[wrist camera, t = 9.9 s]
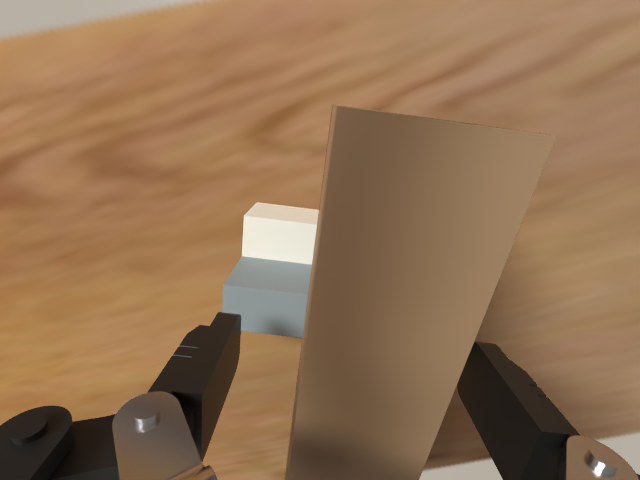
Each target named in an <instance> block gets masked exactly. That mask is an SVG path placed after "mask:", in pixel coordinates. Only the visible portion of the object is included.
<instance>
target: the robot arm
mask: <svg viewBox="0 0 640 480" xmlns="http://www.w3.org/2000/svg"><path fill="white" fill-rule="evenodd" d="M240 335H241V315H240V314H232V313H223V312H218V313H217V315H216V317H215V318H214V320H213V322H212V323H211V325H210V326H204V325H199V326H198V327H196V328H195V329H193V330H192V331H191V332H189V333H188V334H187V335H186V336H185V338H184V339H183V341H182V342H181V344H180V347H178V348H177V350H176V351H175V353H174V355H173V356H172V357H171V358H170V360H169V361H168V363H167V364H166V366H165V367H164V369H163V370H162V372H161V373H160V375H159V376H158V378H157V379H156V381H155V382H154V384H153V385H152V386H151V388H150V389H149V391H148V392H147V393H144V394H141V395H139V396H136V397H135V398H133V399H131V400H129V401H128V402H126V403H125V404H124V405H123V406H122V407H121V408H120V409H119V410H118V411H117V413H116V414H114V415H111V416H106V417H100V418H94V419H88V420H82V421H76V422H72V416H71V414H70V412H69V411H68V410H67V409H65V408H63V407H60V406H43V407H38V408H34V409H31V410H28V411H25V412H23V413H21V414H19V415H17V416H15V417H13V418H11V419H9V420H8V421H6V422H5V423H3V424H2V425H1V426H0V480H218V479H217V477H216V474H215V472H214V470H213V469H212V467H211V466H207V467H204V465H203V463H202V462H203V459H204V456H205V454H206V451H207V448H208V445H209V443H210V440H211V437H212V435H213V432H214V429H215V426H216V424H217V421H218V418H219V415H220V413H221V410H222V407H223V405H224V402H225V399H226V396H227V394H228V391H229V388H230V386H231V383H232V380H233V377H234V375H235V372H236V369H237V365H238V360H239V353H240ZM457 388H458V393H459V396H460V398H461V400H462V402H463V404H464V405H465V407H466V409H467V411H468V413H469V415H470V417H471V419H472V421H473V423H474V425H475V427H476V429H477V430H478V432H479V434H480V436H481V438H482V440H483V442H484V444H485V446H486V448H487V450H488V452H489V453H490V455H491V457H492V459H493V461H494V463H495V465H496V467H497V469H498V471H499V473H500V475H501V476H502V478H503V480H640V475H638V474H636V473H635V471H634V470H633V469H632V467H631V466H630V465H629V464H628V463H627V462H626V461H625V460H624V459H623V458H622V457H621V456H620V455H618V454H617V453H616V452H614V451H613V450H612V449H610V448H609V447H607V446H605V445H604V444H602V443H600V442H598V441H596V440H594V439H591V438H588V437H584V436H580V435H579V433H578V432H577V431H576V430H575V429H574V428H573V426H572V425H571V424H570V423H569V422H568V421H567V419H566V418H565V417H564V416H563V415H562V414H561V412H560V411H559V410H558V409H557V408H556V406H555V405H554V404H553V403H552V402H551V401H550V399H549V398H546V395H545V394H544V392H543V391H542V390H541V389H540V388H539V387H537V384H536V383H535V382H534V381H533V380H532V378H531V377H530V376H529V375H528V374H527V372H525V371H524V370H523V369H521V368H520V367H519V366H517V365H516V364H515V363H513V362H512V361H510V360H509V359H508V358H507V357H506V356H505V354H504V353H503V352H502V351H501V350H500V348H499V347H498V346H497V345H496V344H491V343H482V342H474V344H473V346H472V349H471V351H470V354H469V356H468V358H467V361H466V363H465V366H464V368H463V371H462V373H461V376H460V378H459V381H458V383H457Z"/></svg>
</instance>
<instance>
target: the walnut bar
mask: <svg viewBox="0 0 640 480" xmlns="http://www.w3.org/2000/svg"><path fill="white" fill-rule="evenodd" d="M556 137H557V136H554V135H547V134H540V133H533V132H526V131H519V130H512V129H505V128H498V127H491V126H484V125H477V124H470V123H463V122H456V121H449V120H441V119H434V118H427V117H419V116H412V115H405V114H397V113H390V112H382V111H375V110H368V109H360V108H353V107H346V106H338V105H332V113H331V120H330V128H329V136H328V144H327V151H326V159H325V167H324V175H323V182H322V190H321V198H320V206H319V213H318V221H317V229H316V237H315V244H314V252H313V260H312V268H311V275H310V283H309V291H308V299H307V306H306V314H305V322H304V330H303V337H302V345H301V353H300V361H299V368H298V376H297V384H296V392H295V399H294V407H293V415H292V423H291V430H290V438H289V446H288V454H287V463H286V472H285V480H419V478H420V476H421V473H422V471H423V468H424V466H425V463H426V461H427V458H428V456H429V453H430V451H431V448H432V446H433V443H434V441H435V438H436V436H437V433H438V431H439V428H440V426H441V423H442V421H443V418H444V416H445V413H446V411H447V408H448V406H449V403H450V401H451V398H452V396H453V393H454V391H455V388H456V386H457V383H458V381H459V378H460V376H461V373H462V371H463V368H464V366H465V363H466V361H467V358H468V356H469V354H470V351H471V349H472V346H473V344H474V341H475V339H476V336H477V334H478V331H479V329H480V326H481V324H482V321H483V319H484V316H485V314H486V311H487V309H488V306H489V304H490V301H491V299H492V296H493V294H494V291H495V289H496V286H497V284H498V281H499V279H500V276H501V274H502V271H503V269H504V266H505V264H506V261H507V259H508V256H509V254H510V251H511V249H512V246H513V244H514V241H515V239H516V236H517V234H518V231H519V229H520V226H521V224H522V221H523V219H524V216H525V214H526V211H527V209H528V206H529V204H530V201H531V199H532V196H533V194H534V191H535V189H536V186H537V184H538V182H539V179H540V177H541V174H542V172H543V169H544V167H545V164H546V162H547V159H548V157H549V154H550V152H551V149H552V147H553V144H554V142H555V139H556Z"/></svg>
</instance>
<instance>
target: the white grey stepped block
mask: <svg viewBox="0 0 640 480" xmlns="http://www.w3.org/2000/svg"><path fill="white" fill-rule="evenodd" d="M318 213H319V210H315V209H307V208H299V207H291V206H283V205H275V204H267V203H259V202H257V203H256V204H255V205H254V206H253V207H252V208H251V209H250V210H249V211H248V212H247V213H246V214H245V215H244V226H243V246H242V257H241V258H240V260H239V262H238V263H237V265H236V266H235V268H234V269H233V271H232V272H231V274H230V275H229V277H228V278H227V280H226V281H225V283H224V284H223V309H222V312H223V313H232V314H240V315H241V331H246V332H255V333H264V334H273V335H282V336H291V337H300V338H302V337H303V330H304V322H305V314H306V306H307V299H308V291H309V283H310V275H311V268H312V260H313V252H314V244H315V237H316V229H317V221H318Z"/></svg>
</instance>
